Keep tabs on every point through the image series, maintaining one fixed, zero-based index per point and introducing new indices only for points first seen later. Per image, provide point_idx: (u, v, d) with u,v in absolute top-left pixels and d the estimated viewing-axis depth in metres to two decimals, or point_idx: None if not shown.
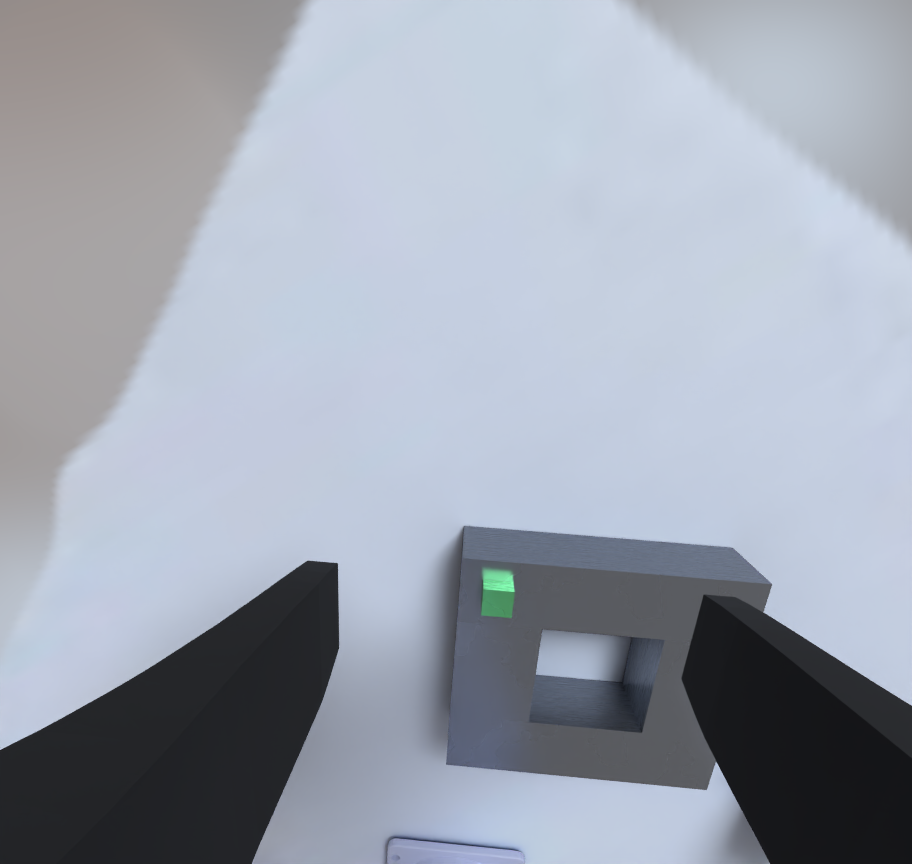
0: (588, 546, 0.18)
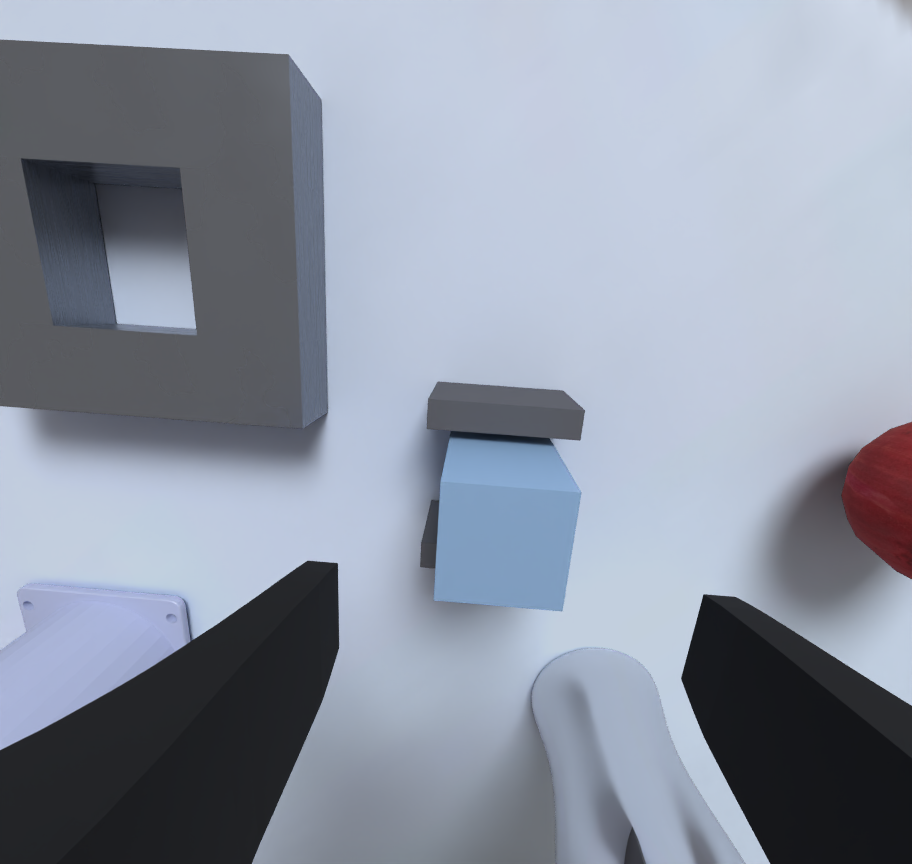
0: None
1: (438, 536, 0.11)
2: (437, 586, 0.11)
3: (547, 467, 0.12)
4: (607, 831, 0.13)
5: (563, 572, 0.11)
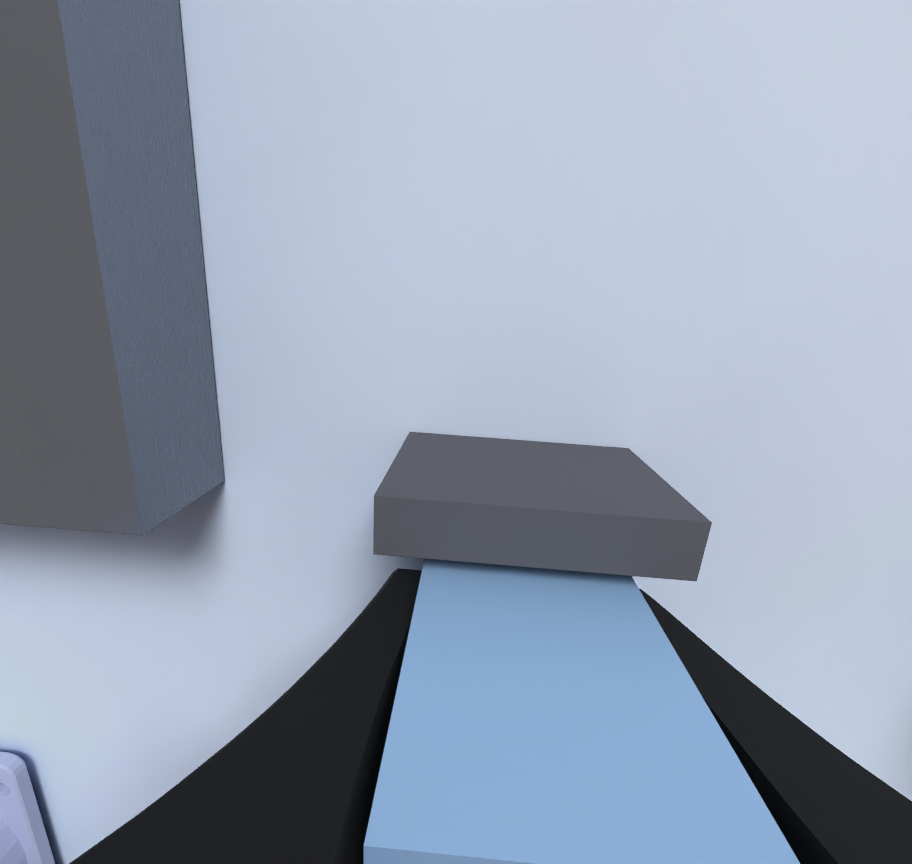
0: None
1: None
2: None
3: (655, 698, 0.05)
4: None
5: None
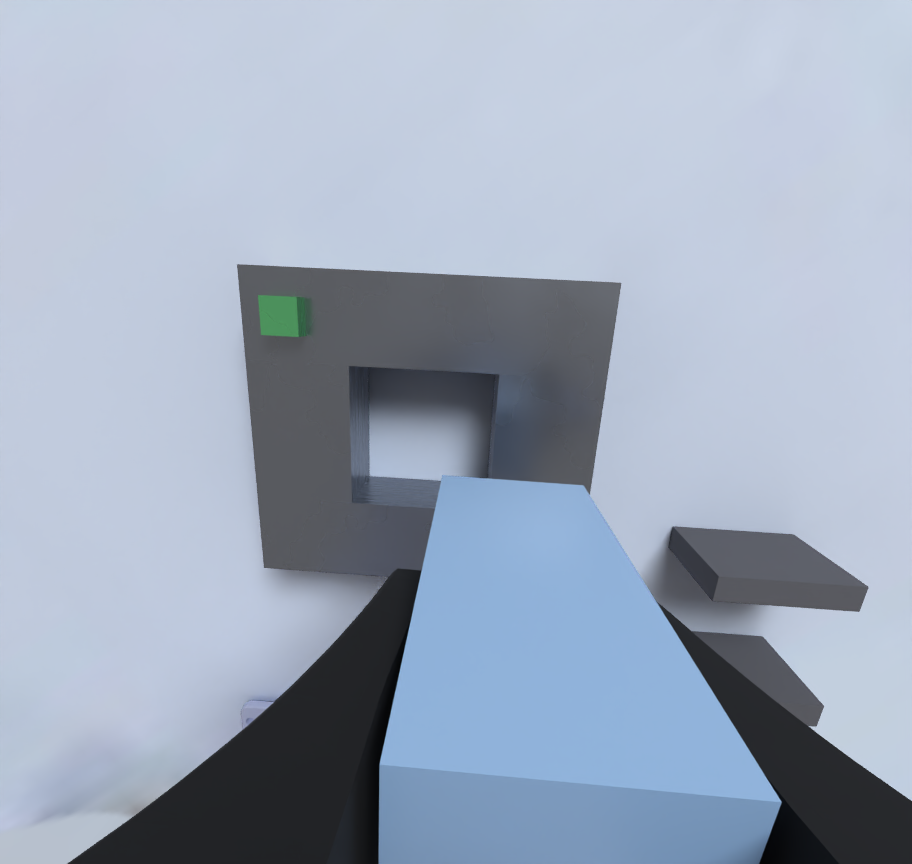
0: None
1: None
2: None
3: (643, 651, 0.05)
4: None
5: None
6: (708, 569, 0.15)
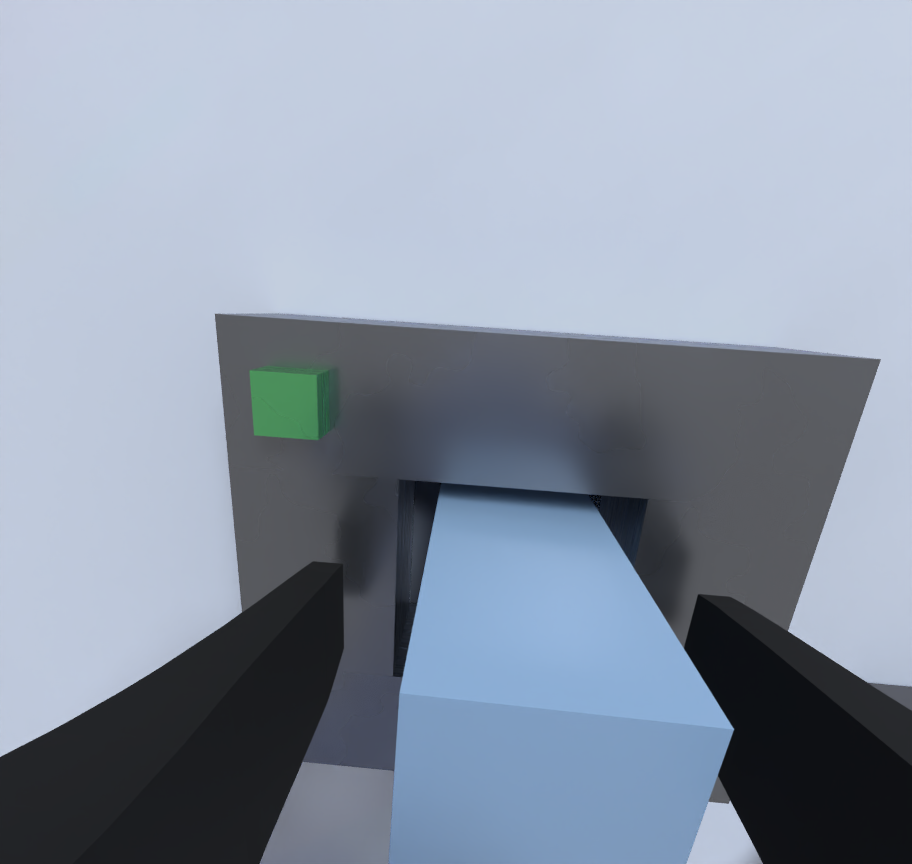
0: (500, 330, 0.09)
1: (395, 796, 0.05)
2: None
3: (625, 615, 0.06)
4: None
5: None
6: None
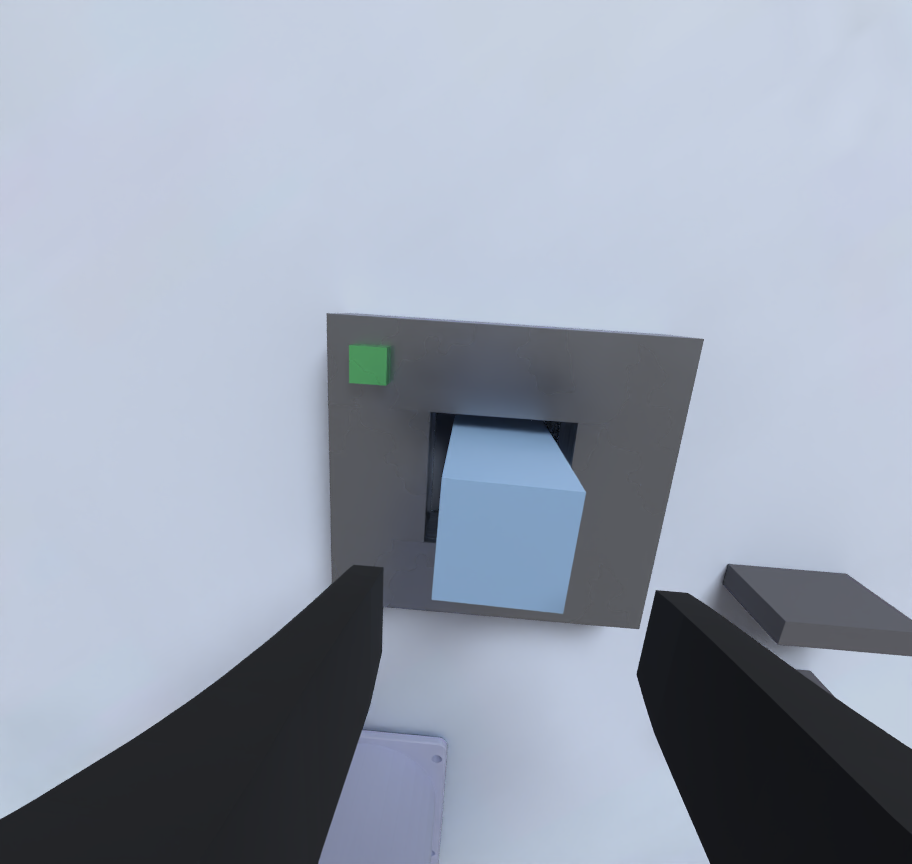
0: (491, 323, 0.15)
1: (438, 534, 0.11)
2: (436, 585, 0.11)
3: (551, 466, 0.12)
4: None
5: (565, 573, 0.11)
6: (772, 612, 0.15)
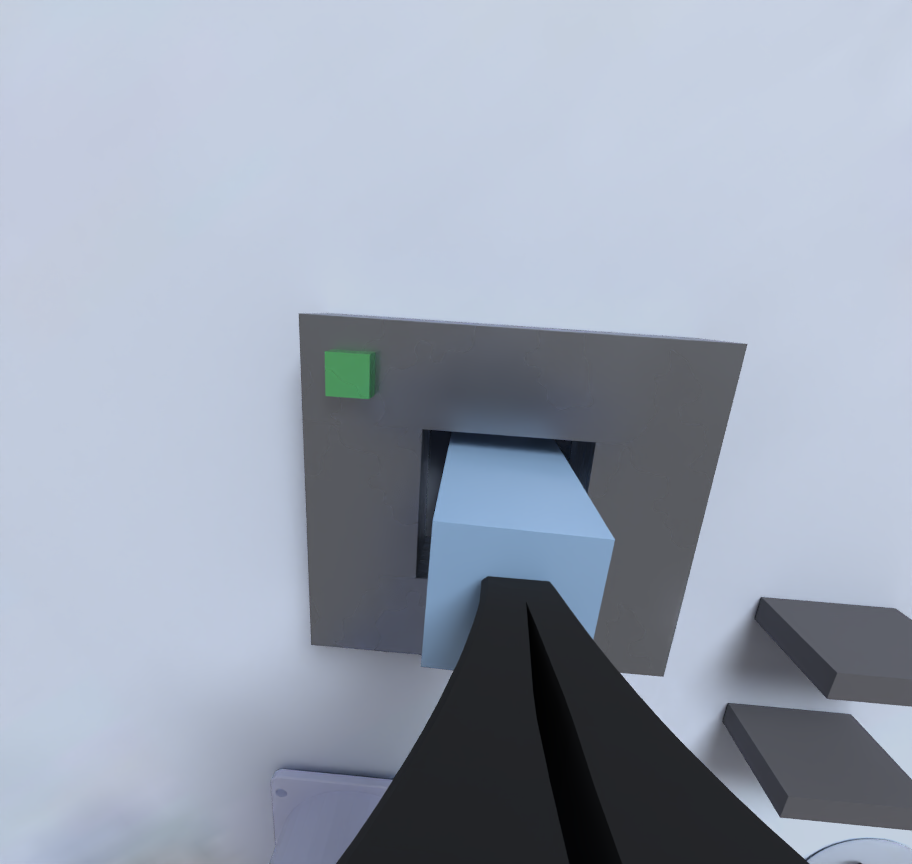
0: (493, 325, 0.13)
1: (428, 589, 0.09)
2: (426, 649, 0.09)
3: (567, 500, 0.10)
4: None
5: None
6: (819, 660, 0.13)
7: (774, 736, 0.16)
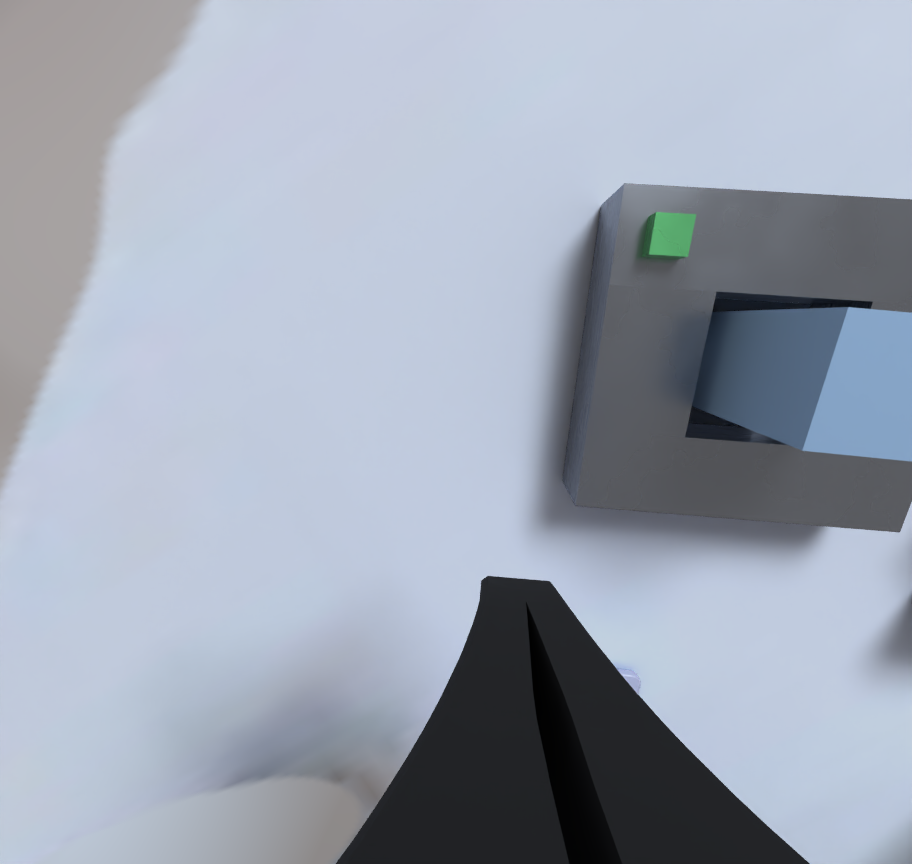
0: None
1: (827, 374, 0.10)
2: (811, 433, 0.10)
3: None
4: None
5: None
6: None
7: None
